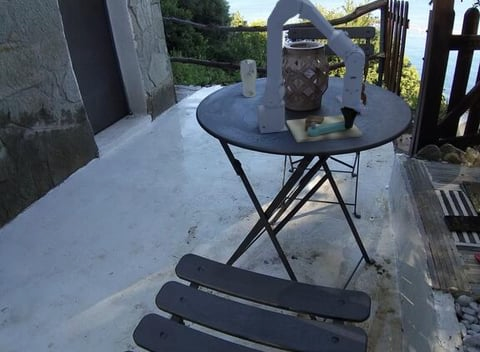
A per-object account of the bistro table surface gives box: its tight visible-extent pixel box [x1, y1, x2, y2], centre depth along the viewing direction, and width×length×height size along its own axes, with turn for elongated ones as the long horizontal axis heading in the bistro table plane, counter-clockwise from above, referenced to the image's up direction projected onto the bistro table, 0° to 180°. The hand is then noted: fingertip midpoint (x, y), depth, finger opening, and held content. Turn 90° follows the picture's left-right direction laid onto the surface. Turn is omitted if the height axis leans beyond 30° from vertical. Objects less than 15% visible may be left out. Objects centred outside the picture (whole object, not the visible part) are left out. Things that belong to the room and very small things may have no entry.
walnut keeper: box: [305, 115, 325, 131], centre depth 126 cm, size 4×5×4 cm
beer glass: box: [240, 59, 257, 98], centre depth 162 cm, size 7×7×15 cm
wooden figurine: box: [358, 82, 367, 114], centre depth 137 cm, size 7×6×15 cm
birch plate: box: [285, 114, 363, 143], centre depth 129 cm, size 22×17×1 cm
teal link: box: [308, 121, 346, 136], centre depth 123 cm, size 16×4×4 cm, turn 109°
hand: (348, 128), depth 124 cm, fingers closed
